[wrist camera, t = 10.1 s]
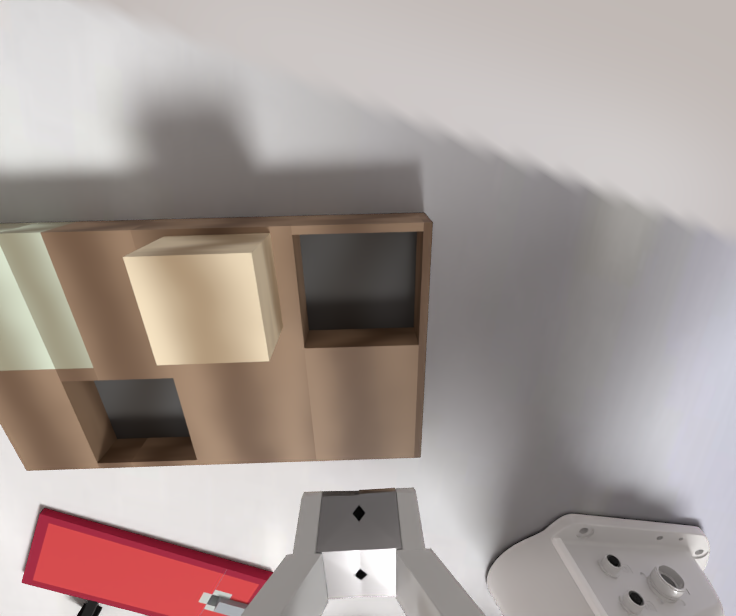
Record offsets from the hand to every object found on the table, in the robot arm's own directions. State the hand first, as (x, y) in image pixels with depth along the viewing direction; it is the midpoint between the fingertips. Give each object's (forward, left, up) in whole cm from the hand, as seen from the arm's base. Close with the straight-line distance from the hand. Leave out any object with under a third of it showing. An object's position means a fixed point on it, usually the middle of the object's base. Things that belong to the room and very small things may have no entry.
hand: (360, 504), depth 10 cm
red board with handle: (+20, +35, -18) cm, 44 cm away
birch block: (+8, -1, -14) cm, 16 cm away
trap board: (+11, +4, -17) cm, 21 cm away
